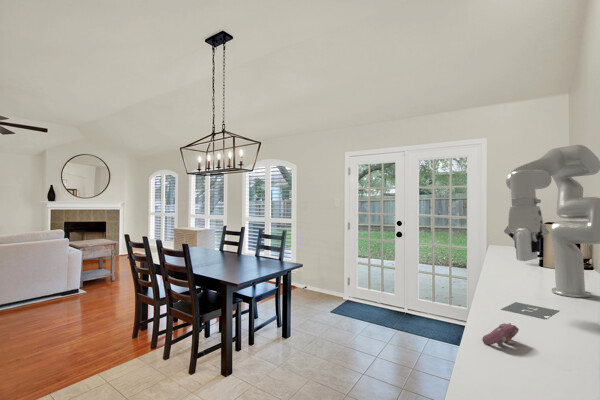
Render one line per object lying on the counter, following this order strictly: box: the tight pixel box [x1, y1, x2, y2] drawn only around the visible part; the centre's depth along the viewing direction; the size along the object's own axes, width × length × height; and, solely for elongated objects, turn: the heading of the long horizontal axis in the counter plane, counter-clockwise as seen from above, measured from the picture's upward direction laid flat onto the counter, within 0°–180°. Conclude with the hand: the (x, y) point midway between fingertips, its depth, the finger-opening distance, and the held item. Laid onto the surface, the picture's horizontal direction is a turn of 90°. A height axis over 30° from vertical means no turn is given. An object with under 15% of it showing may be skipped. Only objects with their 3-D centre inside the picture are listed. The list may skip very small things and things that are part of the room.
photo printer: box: [514, 228, 539, 262], centre depth 115 cm, size 10×4×12 cm, turn 124°
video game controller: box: [481, 322, 520, 346], centre depth 87 cm, size 10×5×7 cm, turn 118°
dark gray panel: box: [500, 301, 560, 320], centre depth 114 cm, size 14×14×1 cm
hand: (526, 250), depth 115 cm, fingers closed on photo printer, 4 cm apart
